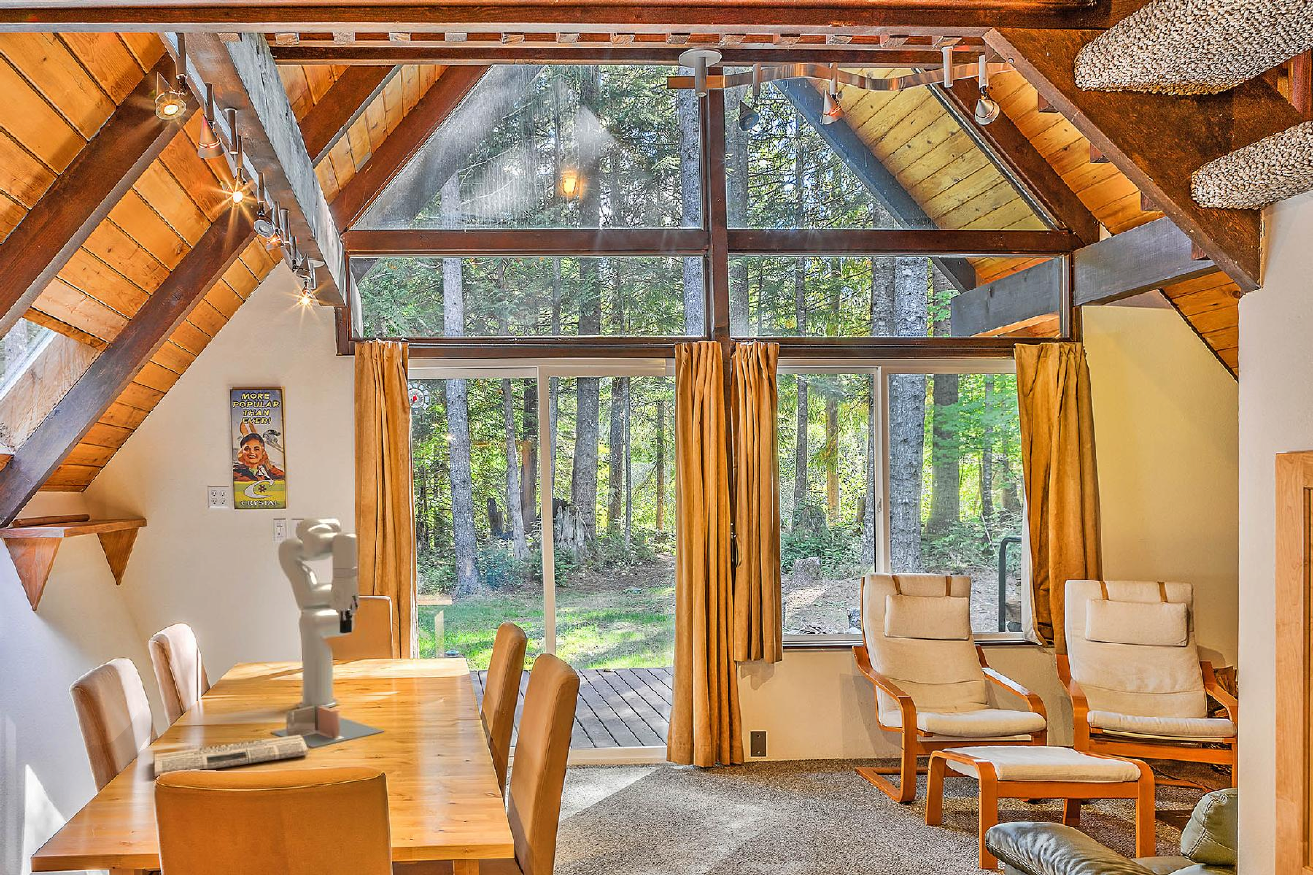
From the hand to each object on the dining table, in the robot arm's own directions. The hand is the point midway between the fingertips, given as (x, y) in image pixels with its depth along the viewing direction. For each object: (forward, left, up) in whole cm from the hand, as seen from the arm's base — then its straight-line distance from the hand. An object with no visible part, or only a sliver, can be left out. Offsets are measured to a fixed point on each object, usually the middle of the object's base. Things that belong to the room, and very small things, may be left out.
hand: (345, 632), depth 311 cm
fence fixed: (+7, -19, -27) cm, 33 cm away
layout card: (+9, -12, -27) cm, 31 cm away
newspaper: (+15, -42, -27) cm, 52 cm away
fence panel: (+12, -13, -26) cm, 32 cm away
